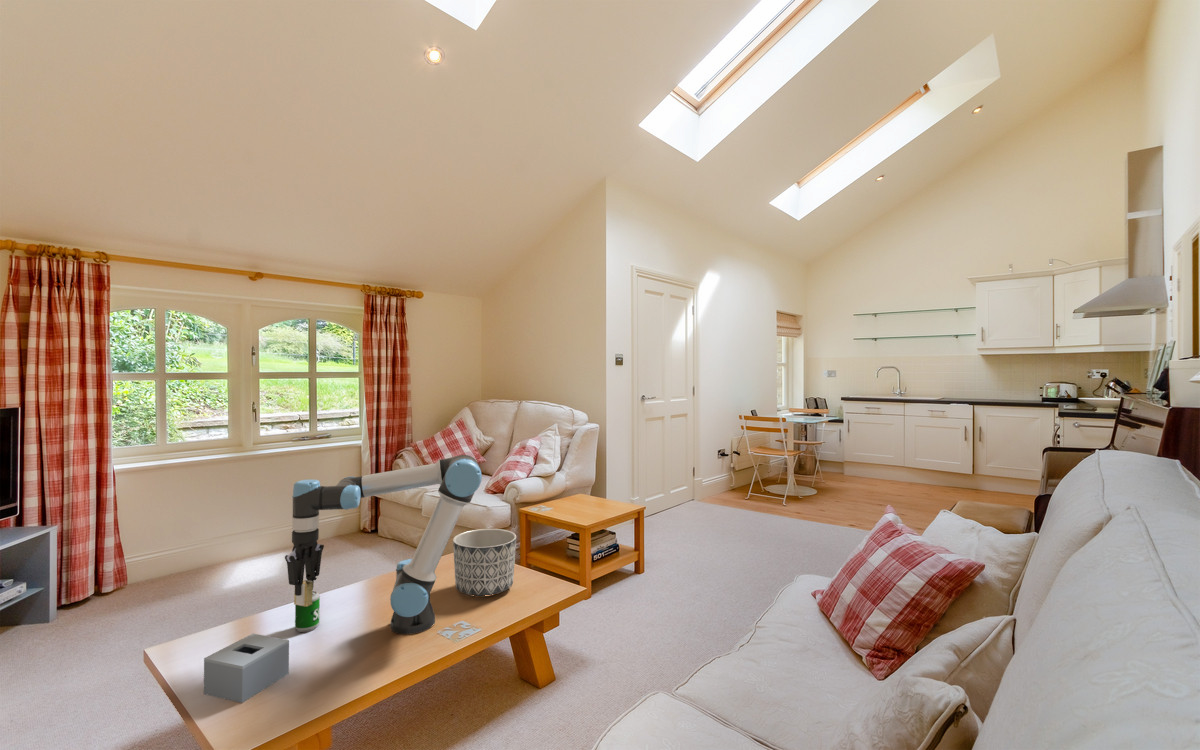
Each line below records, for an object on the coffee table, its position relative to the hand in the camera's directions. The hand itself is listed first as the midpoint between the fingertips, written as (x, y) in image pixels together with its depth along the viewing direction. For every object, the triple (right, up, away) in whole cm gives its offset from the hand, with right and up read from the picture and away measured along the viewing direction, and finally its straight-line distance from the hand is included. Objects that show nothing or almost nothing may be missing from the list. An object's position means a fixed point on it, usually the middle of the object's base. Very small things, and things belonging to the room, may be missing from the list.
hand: (303, 602), depth 169 cm
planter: (+46, -18, +53) cm, 73 cm away
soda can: (-9, -17, +18) cm, 26 cm away
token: (0, -1, 0) cm, 1 cm away
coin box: (-7, -17, -16) cm, 24 cm away
